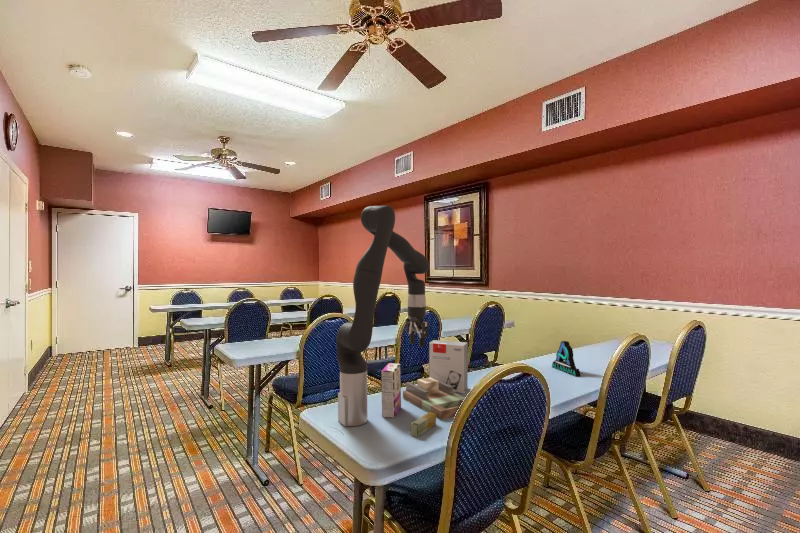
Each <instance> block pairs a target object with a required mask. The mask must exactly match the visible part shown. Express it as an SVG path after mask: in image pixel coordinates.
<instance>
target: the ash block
mask: <svg viewBox="0 0 800 533" xmlns="http://www.w3.org/2000/svg"><path fill="white" fill-rule="evenodd" d="M416 383H417V385H416V386H418V387H420V388H422V389H424V390H426V391H428V392H429V394H434V393H439V381H437V380H435V379H433V378H429V377H425V378H419V379H417V382H416Z"/></svg>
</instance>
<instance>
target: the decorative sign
mask: <svg viewBox="0 0 800 533" xmlns="http://www.w3.org/2000/svg"><path fill="white" fill-rule="evenodd" d="M555 355H556V358H555V360H554V361H552V364H551V367H552V369H555V370H558V371H559V372H560V371H561V372H563V373H565V374H568V375H570V376H573V377H575V378H578V377H582V375H581V372H580V369H579V368H577V367H576V364H575V359H574V350H573V347H572V346H571V344H570V342H569V341H566V340H562V341H560V345H559V347H558V350H557V351H556V354H555Z"/></svg>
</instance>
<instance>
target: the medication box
mask: <svg viewBox="0 0 800 533" xmlns="http://www.w3.org/2000/svg"><path fill="white" fill-rule="evenodd" d="M436 422H437V418H436V414H435V413H432V412H429V413H427V412H426V414H423V415H422V416H420V417H419V418H418V419H416V420H414V421H412V422H410V434H409V435H410V436H412V437H419V436H420V435H422V434H423V433H425V432H426V431H429V429H431V428H432V426H433V427H434V426H436Z"/></svg>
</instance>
